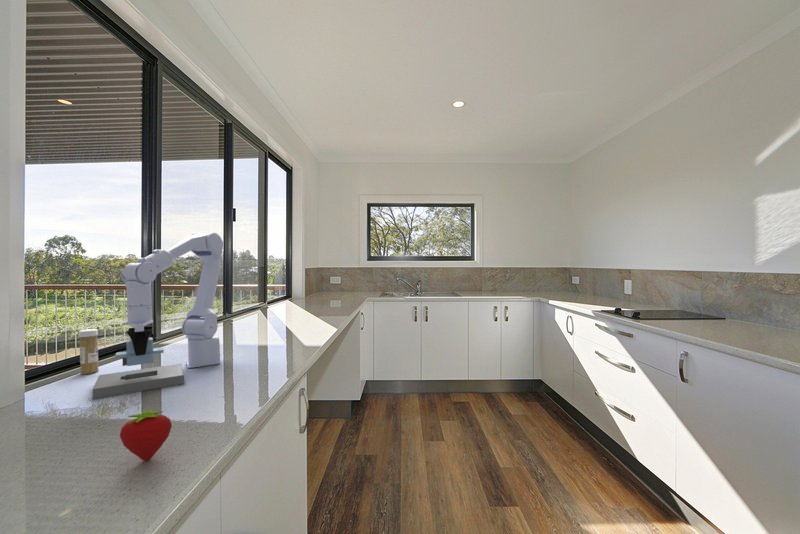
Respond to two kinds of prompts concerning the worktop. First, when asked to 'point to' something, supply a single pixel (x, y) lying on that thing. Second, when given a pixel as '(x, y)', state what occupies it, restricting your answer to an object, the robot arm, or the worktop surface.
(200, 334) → the robot arm
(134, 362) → the block
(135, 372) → the mounting plate
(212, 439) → the worktop surface
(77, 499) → the worktop surface
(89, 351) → the sprinkles bottle
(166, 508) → the worktop surface
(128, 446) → the strawberry
